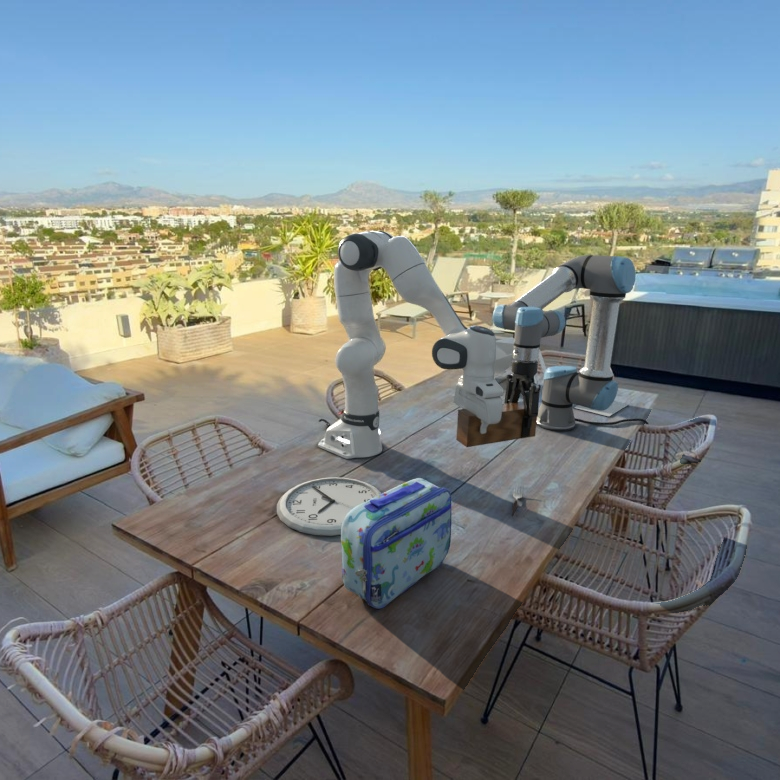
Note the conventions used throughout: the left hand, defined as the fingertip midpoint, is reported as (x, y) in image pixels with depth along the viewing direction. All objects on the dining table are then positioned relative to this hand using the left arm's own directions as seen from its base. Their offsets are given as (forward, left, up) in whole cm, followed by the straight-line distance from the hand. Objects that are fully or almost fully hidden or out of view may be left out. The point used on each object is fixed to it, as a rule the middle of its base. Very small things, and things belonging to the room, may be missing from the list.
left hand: (474, 427), depth 155 cm
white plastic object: (-26, +104, -17) cm, 109 cm away
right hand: (+9, +13, -4) cm, 16 cm away
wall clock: (-26, -36, -17) cm, 47 cm away
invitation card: (+22, +94, -17) cm, 98 cm away
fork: (+17, -8, -17) cm, 25 cm away
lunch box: (+5, -54, -17) cm, 56 cm away
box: (+5, +6, -4) cm, 9 cm away
